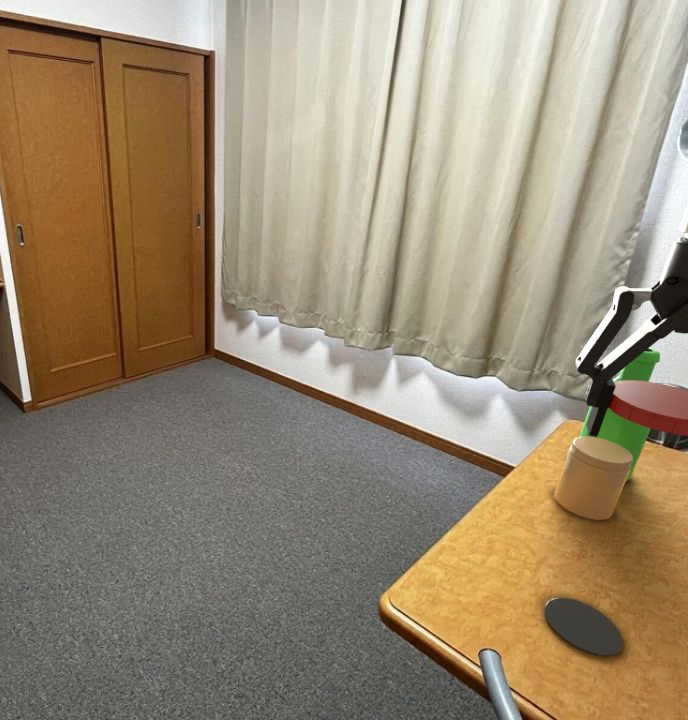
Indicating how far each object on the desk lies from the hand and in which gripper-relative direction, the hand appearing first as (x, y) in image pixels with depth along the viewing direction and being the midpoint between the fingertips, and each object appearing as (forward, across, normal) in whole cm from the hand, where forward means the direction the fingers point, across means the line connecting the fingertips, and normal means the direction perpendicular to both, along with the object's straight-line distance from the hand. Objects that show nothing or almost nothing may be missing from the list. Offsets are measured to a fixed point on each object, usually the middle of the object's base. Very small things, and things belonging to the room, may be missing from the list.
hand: (646, 442), depth 53 cm
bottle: (+26, -7, -37) cm, 46 cm away
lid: (-5, 0, 0) cm, 5 cm away
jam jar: (+26, -3, -24) cm, 35 cm away
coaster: (+26, 0, +4) cm, 26 cm away
